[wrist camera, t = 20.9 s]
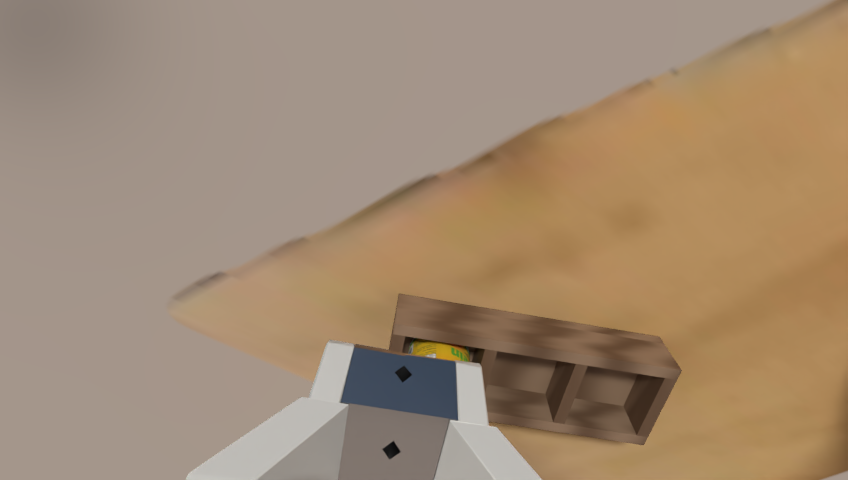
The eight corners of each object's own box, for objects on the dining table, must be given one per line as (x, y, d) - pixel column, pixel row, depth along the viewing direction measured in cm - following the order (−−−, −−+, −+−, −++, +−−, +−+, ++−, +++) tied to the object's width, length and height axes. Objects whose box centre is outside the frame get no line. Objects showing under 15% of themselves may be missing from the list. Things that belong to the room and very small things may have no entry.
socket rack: (659, 336, 44) (683, 372, 40) (625, 409, 48) (643, 449, 44) (398, 293, 43) (394, 326, 39) (384, 371, 47) (379, 409, 42)
